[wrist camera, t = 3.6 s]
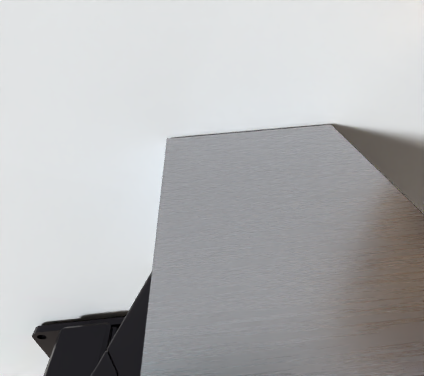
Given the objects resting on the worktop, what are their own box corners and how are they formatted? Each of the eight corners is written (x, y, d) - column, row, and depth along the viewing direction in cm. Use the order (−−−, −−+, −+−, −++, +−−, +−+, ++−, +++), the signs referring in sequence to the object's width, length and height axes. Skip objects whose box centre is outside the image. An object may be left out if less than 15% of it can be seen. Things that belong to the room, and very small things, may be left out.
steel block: (308, 240, 14) (477, 592, 6) (185, 251, 14) (186, 633, 6) (330, 124, 11) (823, 603, 2) (166, 138, 10) (102, 708, 2)
